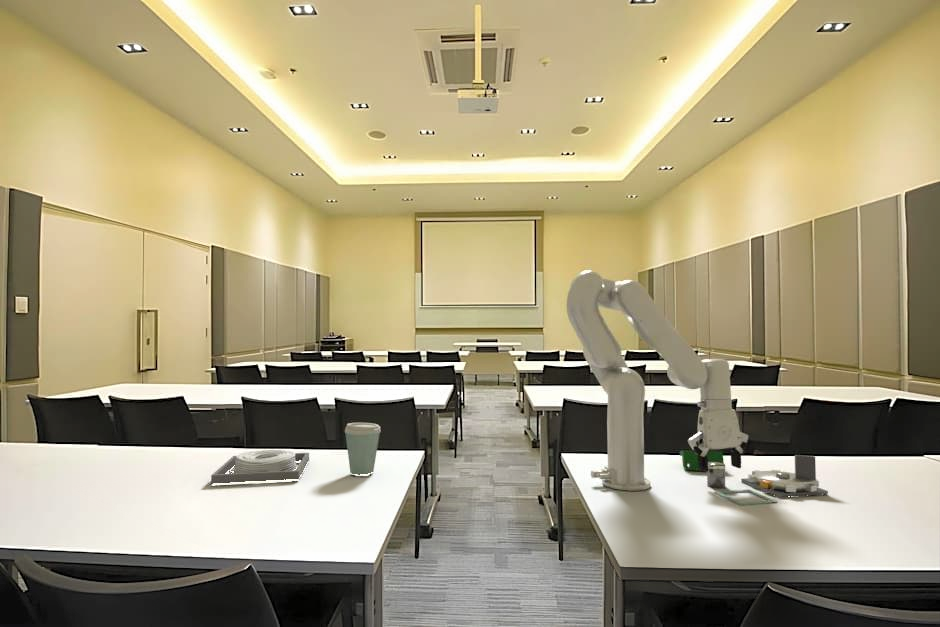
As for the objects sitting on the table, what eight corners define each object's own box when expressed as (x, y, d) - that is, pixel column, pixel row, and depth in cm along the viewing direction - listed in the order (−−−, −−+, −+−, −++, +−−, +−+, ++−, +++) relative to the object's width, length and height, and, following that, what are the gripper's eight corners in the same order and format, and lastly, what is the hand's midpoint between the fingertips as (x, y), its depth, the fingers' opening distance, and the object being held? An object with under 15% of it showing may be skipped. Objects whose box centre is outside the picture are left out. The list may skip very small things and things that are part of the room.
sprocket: (827, 495, 132) (827, 464, 132) (755, 489, 137) (754, 459, 137) (808, 477, 147) (807, 449, 147) (743, 473, 152) (743, 446, 152)
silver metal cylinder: (713, 489, 141) (713, 466, 142) (703, 484, 146) (703, 462, 146) (729, 488, 142) (728, 465, 142) (718, 483, 147) (718, 461, 147)
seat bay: (740, 505, 128) (740, 504, 128) (714, 492, 138) (714, 491, 138) (777, 502, 130) (777, 501, 130) (749, 490, 140) (749, 489, 140)
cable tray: (211, 486, 146) (211, 475, 146) (233, 465, 169) (233, 455, 169) (298, 481, 150) (298, 471, 150) (309, 461, 173) (309, 452, 173)
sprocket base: (779, 498, 134) (778, 493, 134) (741, 482, 147) (741, 478, 147) (827, 494, 136) (827, 490, 136) (786, 479, 150) (786, 475, 150)
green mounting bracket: (712, 482, 163) (722, 454, 164) (718, 483, 157) (728, 454, 159) (673, 465, 165) (683, 438, 167) (678, 465, 160) (688, 437, 161)
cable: (221, 476, 157) (221, 455, 157) (271, 463, 172) (271, 444, 172) (259, 485, 148) (259, 463, 148) (308, 471, 163) (309, 451, 163)
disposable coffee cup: (363, 467, 165) (363, 418, 165) (388, 473, 159) (388, 422, 159) (336, 475, 156) (336, 424, 157) (362, 481, 150) (362, 427, 150)
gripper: (695, 409, 139) (699, 475, 139) (754, 404, 142) (758, 469, 142) (679, 405, 147) (682, 468, 146) (735, 400, 150) (739, 462, 149)
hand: (720, 468), depth 144 cm, fingers open, 9 cm apart
